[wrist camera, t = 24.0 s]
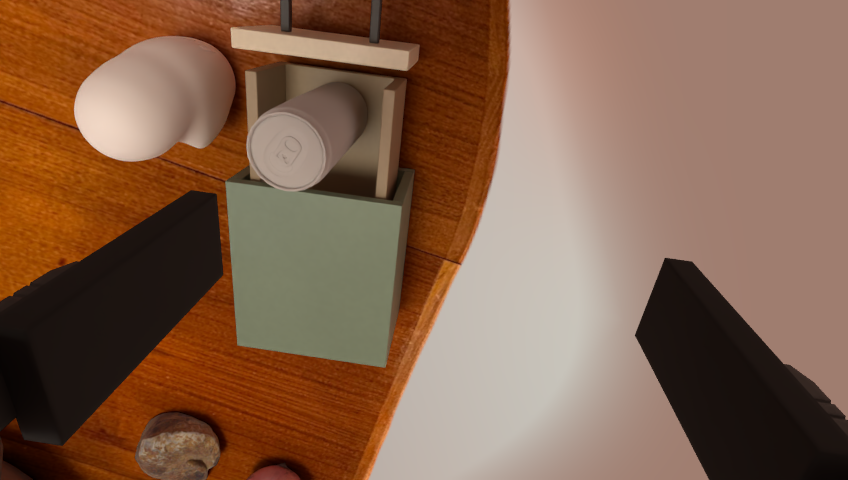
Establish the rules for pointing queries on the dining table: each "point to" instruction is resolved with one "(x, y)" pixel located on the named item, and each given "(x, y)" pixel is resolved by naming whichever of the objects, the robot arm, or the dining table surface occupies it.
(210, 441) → the brown rock
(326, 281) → the cabinet
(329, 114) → the beverage can
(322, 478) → the dining table surface
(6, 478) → the clay pot
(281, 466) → the onion
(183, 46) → the figurine
